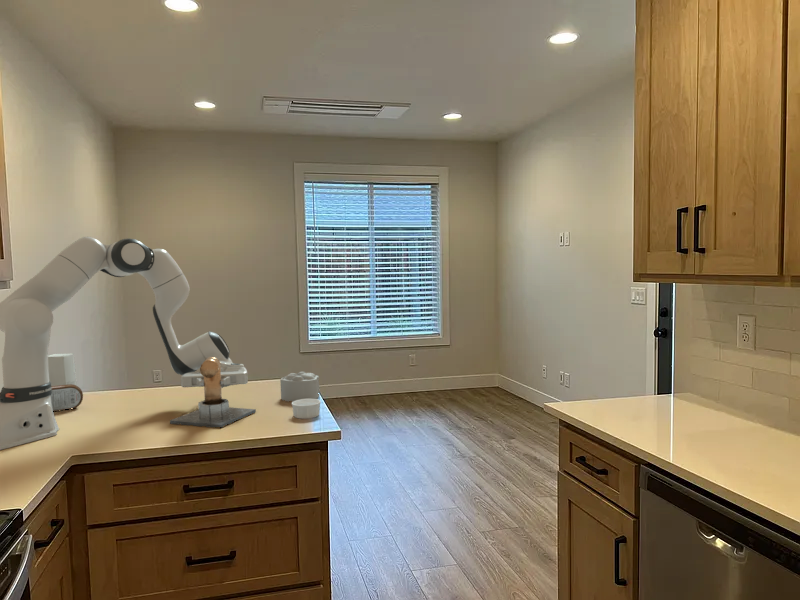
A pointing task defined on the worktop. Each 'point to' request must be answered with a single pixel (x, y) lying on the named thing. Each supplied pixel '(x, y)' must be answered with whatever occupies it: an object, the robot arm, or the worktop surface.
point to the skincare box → (62, 369)
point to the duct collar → (213, 415)
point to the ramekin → (306, 408)
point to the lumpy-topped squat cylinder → (299, 386)
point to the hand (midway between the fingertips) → (212, 383)
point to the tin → (66, 397)
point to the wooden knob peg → (212, 380)
